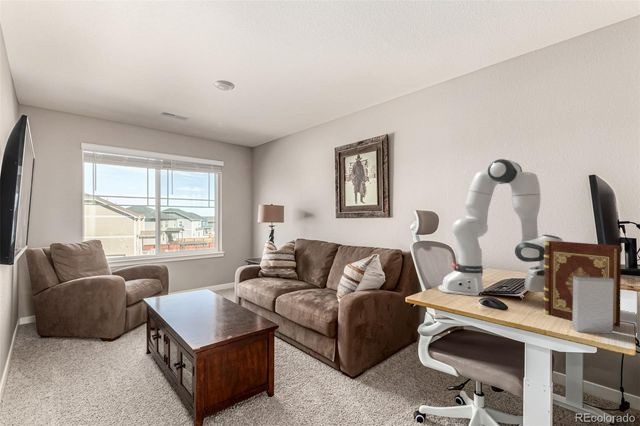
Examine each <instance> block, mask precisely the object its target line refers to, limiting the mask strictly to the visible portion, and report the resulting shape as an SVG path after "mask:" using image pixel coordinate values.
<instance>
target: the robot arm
mask: <svg viewBox="0 0 640 426" xmlns="http://www.w3.org/2000/svg"><path fill="white" fill-rule="evenodd" d="M498 184H500V185H503V184H508V185H509V186H510V189H511V202H512V206H513V207H512V208H513V211H514V212H515V213H516V214H517V216H518V218H519V220H520V224H521V225H520V226H521V241H520V242H519V243H518V244H517V245H516V247H515V249H514V254H515V256H516V258H518V259H519V260H520V261H522V262H525V263H534V262H538V264H539V265H537V266H533V267H530V268H527V269H526V272H527V274H526V275H525V278H524V289H525V290H526V291H528V292H531V293H532V292H533V293H543V296H545V290H544V286H545V267H544V264H545V257H544V254H545V245H544V241H562V242H564V240H563V239H562V238H561V237H559V236H556V235H552V234H542V235H540V236H539V234H538V218H539V217H538V215H539V211H540V206H541V188H540V187H541V186H540V182H539V178H538V175H537V174H535V173H533V172H531V171H523V169H522V166H521V165H520V164H519V163H517V162H515V161H513V160H510V159H504V158H502V159H500V158H499V159H496V160H494V161H492V162H491V163H490V164H489V165H488V167H487V170H481V171H478V172H476V173H475V175H474V177H473V179H472V181H471V183H470V186H469V190H468V193H467V196H466V200H465V203H464V206H465V208H466V209H465V210H466V212H465V214H466V215H465V217H461V218H459V219H457V220H455V221H453V224H452V227H451V231H452V233H453V235H454V236H455V239H456V243H457V248H458V249H457V251H458V257H457V259H458V263H451V267H452V268H454V270H453V271H452V272H450V273H448V274H447V275H446V276H444V277H443V280H442V284H439V285H438V286H437V289H438V290H439V291H440V292H442V293H446V294H453V295H463V296H464V295H465V296H473V297H477V296H480V295H479V293H480V292H483V291H485V289H484V284H483V275H484V274H483V273H484V269H483V267H484V266H483V263H482V261H483V259H482V258H483V256H482V255H483V250H482V248H481V246H480V243H479V238H481V237H483V236H485V235H486V233H487V232H488V230H489V226H488V217H489V209H490V205H491V201H492V197H493V194H494V191H495V188H496V186H498Z"/></svg>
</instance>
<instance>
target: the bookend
mask: <svg viewBox="0 0 640 426" xmlns="http://www.w3.org/2000/svg"><path fill="white" fill-rule="evenodd" d="M613 290H614V279H613V278H609V277H590V276H573V321H572V328H571V329H572V330H574V331H575V332H578V333H579V332H580V333H594V334H605V333H611V334H610V335H613V333H614V325H613Z"/></svg>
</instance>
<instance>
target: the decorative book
mask: <svg viewBox="0 0 640 426" xmlns="http://www.w3.org/2000/svg"><path fill="white" fill-rule="evenodd" d="M544 245H545V254H544V257H545V264H544V267H545V286H544V290H545V295H543V300H544V308H543V314H545V315H548V316H553V317H557V318H560V319H564V320H569V321H571V322H573V276H590V277H609V278H613V279H614V290H613V327H619V328H620V326H621V280H622V279H621V274H622V273H621V269H622V268H621V266H622V265H621V262H622V261H621V260H622V259H621V258H622V250H621V248H622V247H621V245H616V244H615V245H614V244H604V243H603V244H602V243H601V244H600V243H587V242H585V243H584V242H576V241H575V242H574V241H572V242H571V241H563V242H562V241H544Z"/></svg>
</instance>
